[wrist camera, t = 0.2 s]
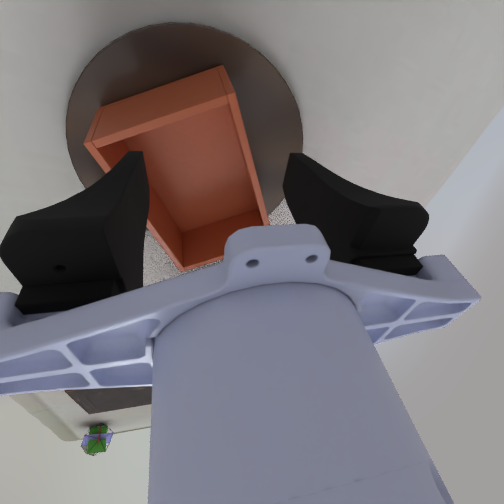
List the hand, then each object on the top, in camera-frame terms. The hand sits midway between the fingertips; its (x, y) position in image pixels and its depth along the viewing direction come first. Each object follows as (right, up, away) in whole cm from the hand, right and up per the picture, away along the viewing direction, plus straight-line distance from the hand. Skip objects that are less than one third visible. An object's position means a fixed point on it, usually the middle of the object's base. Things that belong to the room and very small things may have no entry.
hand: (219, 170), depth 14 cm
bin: (-5, +2, +10) cm, 11 cm away
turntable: (-3, +4, +10) cm, 11 cm away
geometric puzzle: (-39, -50, +60) cm, 88 cm away
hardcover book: (-22, -32, +45) cm, 59 cm away
